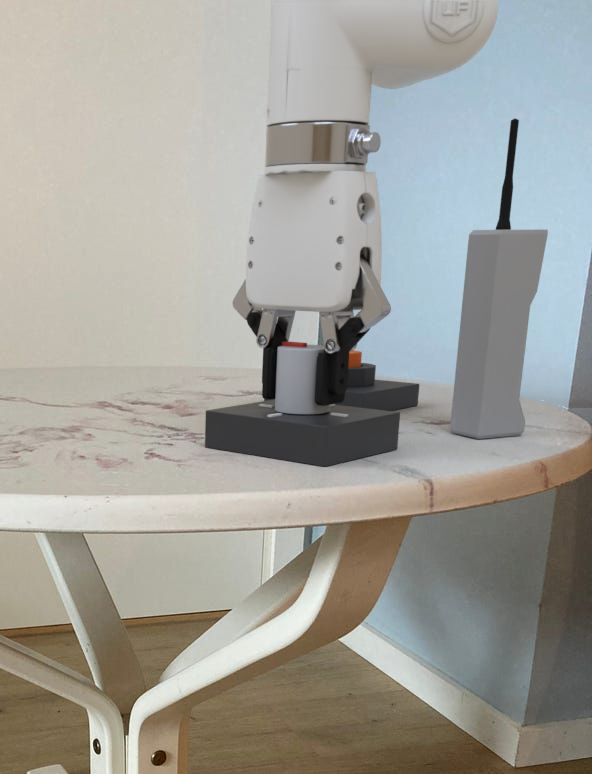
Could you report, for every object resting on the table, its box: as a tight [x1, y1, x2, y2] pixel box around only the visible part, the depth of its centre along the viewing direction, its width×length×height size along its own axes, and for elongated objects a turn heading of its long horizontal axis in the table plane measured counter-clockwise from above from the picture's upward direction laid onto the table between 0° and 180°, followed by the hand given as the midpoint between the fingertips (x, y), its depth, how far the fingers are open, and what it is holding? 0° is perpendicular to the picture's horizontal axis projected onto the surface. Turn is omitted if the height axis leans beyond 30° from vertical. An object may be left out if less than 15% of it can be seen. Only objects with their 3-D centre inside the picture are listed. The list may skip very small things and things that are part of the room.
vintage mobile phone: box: [449, 117, 549, 440], centre depth 92 cm, size 4×5×25 cm
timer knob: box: [275, 341, 330, 415], centre depth 88 cm, size 4×4×5 cm
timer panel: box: [204, 399, 401, 468], centre depth 90 cm, size 12×10×3 cm
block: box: [263, 362, 420, 411], centre depth 113 cm, size 12×10×4 cm
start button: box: [348, 349, 363, 367], centre depth 112 cm, size 4×4×2 cm
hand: (302, 398), depth 89 cm, fingers closed on timer knob, 4 cm apart
